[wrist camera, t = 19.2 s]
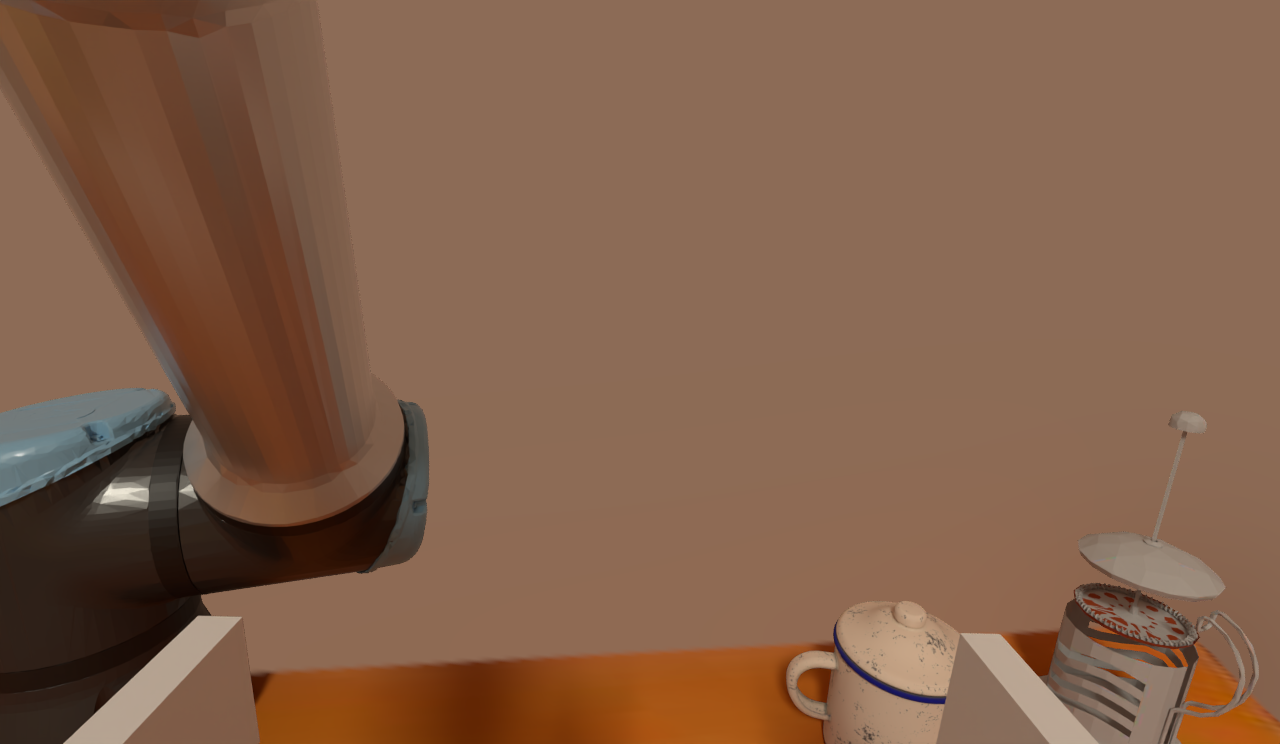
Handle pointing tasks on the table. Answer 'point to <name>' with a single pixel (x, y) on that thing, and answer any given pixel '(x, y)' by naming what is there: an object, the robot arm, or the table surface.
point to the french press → (1138, 634)
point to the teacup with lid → (881, 675)
